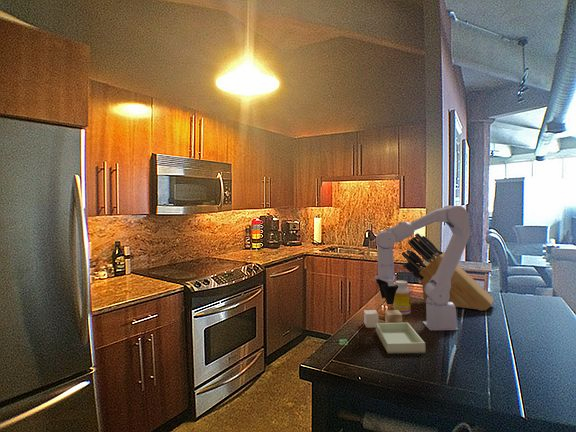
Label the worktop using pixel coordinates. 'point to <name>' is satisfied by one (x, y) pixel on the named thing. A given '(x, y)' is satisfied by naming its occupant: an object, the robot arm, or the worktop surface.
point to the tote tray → (400, 338)
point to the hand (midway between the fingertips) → (387, 300)
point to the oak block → (393, 316)
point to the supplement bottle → (402, 298)
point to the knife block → (462, 284)
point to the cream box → (370, 318)
